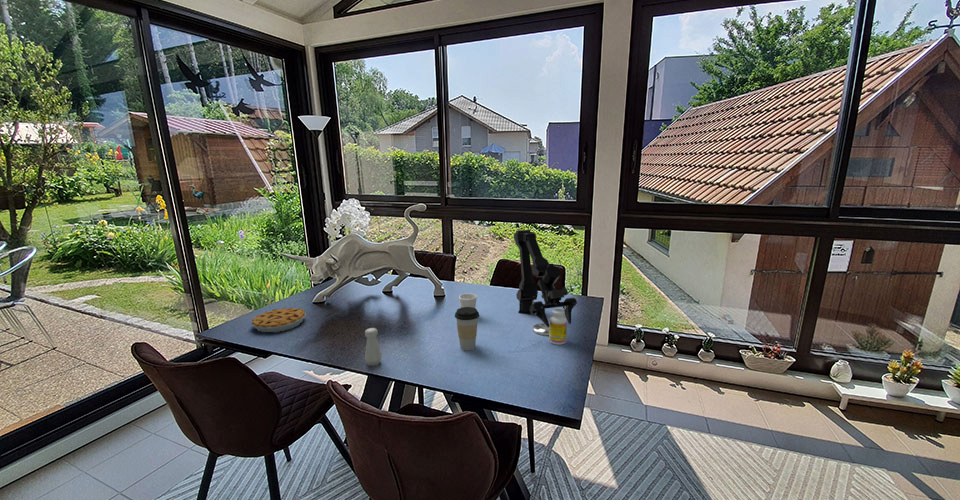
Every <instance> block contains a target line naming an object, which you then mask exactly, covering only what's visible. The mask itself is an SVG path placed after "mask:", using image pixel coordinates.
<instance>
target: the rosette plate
mask: <svg viewBox="0 0 960 500" xmlns="http://www.w3.org/2000/svg"><path fill="white" fill-rule="evenodd" d="M549 331H550V322H549V327H547V326H546V325H545V324H544V322H540V323H537V324H534V325H533V327H532V332H533V333H535V334H537V335H539V336H545V337H549Z"/></svg>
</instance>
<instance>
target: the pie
mask: <svg viewBox="0 0 960 500" xmlns="http://www.w3.org/2000/svg"><path fill="white" fill-rule="evenodd" d="M306 315H307V312H306V311H305V310H304V309H301V308H299V307H298V308H295V307H289V308H286V307H282V308H281V309H280V308H279V309H272V310H270V311H265V312H263V313H261V314H258V315H257V316H256V317H254V318H252V321H251V324H250V325H251V326H253V328H254V329H255V330H256V329H257V330H256V331H258V332H260V331H261V332H260V333H265V332H274V333H279V332H280V331H282V332H285V330H286V331H288V330H291V329H294V328H295V327H298V326H300V323H301V324H302V323H303V320H304V318H306ZM280 333H281V332H280Z"/></svg>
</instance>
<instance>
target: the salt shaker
mask: <svg viewBox="0 0 960 500" xmlns="http://www.w3.org/2000/svg"><path fill="white" fill-rule="evenodd" d="M378 332H379V331H378V330H377V328H376V327H370V328H367V329H366V330H365V331H364V337H365V338H366V345H365V355H364V360H365V362H366V364H367V365H368V366H370V367H374V366H378V365H379V364H380V363H381V360H382V352H381V349H380V345H379V342H378V338H377V336H378V334H379V333H378Z"/></svg>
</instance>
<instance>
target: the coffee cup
mask: <svg viewBox="0 0 960 500" xmlns="http://www.w3.org/2000/svg"><path fill="white" fill-rule="evenodd" d="M454 318H456V328H457V335H458V340H459V347H460V349H461V350H463V351H472V350H474V349H476V343H477V342H476V339H477V331H478V324H479V323H478V319H479V318H480V313H479V311H478V309H477V308H476V307H475V308H473V307H462V308H461V307H459V308H457V309H456V312H455V314H454Z"/></svg>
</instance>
